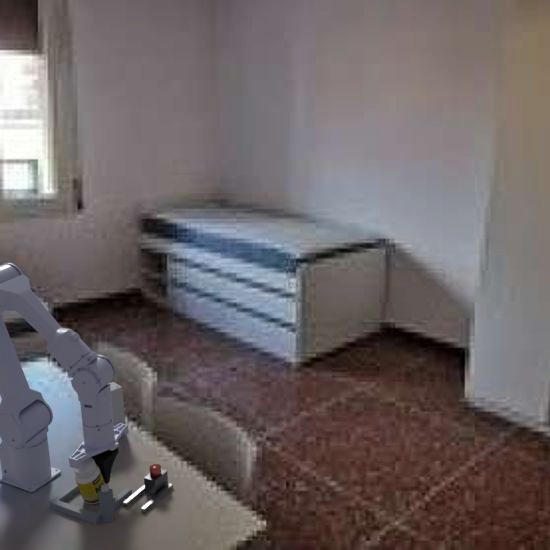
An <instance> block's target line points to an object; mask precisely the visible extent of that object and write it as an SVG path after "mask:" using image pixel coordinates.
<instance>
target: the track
mask: <svg viewBox="0 0 550 550" xmlns="http://www.w3.org/2000/svg"><path fill="white" fill-rule="evenodd" d="M173 489H174V484H172V483H170V482H168V485H167V486H166V487H165V488H164V489H162V490H161V491H160V492H159V493H158V494H157V495H156V496H152V498H151V499H150V500H148V501H147V502H146V503H145V504H143V506H142V507H141V508H140V512H141V513H144V514H145V513H146V512H147V511H149V510H150V509H151V508H152V507H154V506H155V505H156V503H158V502H159V501H160V500H161V499H162V498H164V497H165V495H167V494H168V493H170V491H171V490H173ZM143 494H145V485H144V484H143V485H142V486H141V487H140V488H138V489H137V490H136V491H135V492H133V493H132V495H131V496H130V497H129V498H128V499H126V500H125V501H124V502H123V503H122V504H123V506H124V507H129V506H130V505H131V504H132V503H133V502H134V501H136V500H137V499H138V498H139V497H140V496H142V495H143Z"/></svg>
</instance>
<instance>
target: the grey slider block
mask: <svg viewBox="0 0 550 550" xmlns="http://www.w3.org/2000/svg"><path fill="white" fill-rule="evenodd" d="M148 469H149V473H148V474H146V476H144V477H143V481H144V483H143V485H145V492H144V494H146V495H148V496H152V497H154V496H156V495H157V494H158V493H159V492H160V491H161V490H162V489H164V488H165V487H166V486H167V485H168V484H169V480H168V479H169V478H168V477H169V476H168V470H166V469H162V465H161V464H159V463H153V464H151V465H150V466H149V468H148Z"/></svg>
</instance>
